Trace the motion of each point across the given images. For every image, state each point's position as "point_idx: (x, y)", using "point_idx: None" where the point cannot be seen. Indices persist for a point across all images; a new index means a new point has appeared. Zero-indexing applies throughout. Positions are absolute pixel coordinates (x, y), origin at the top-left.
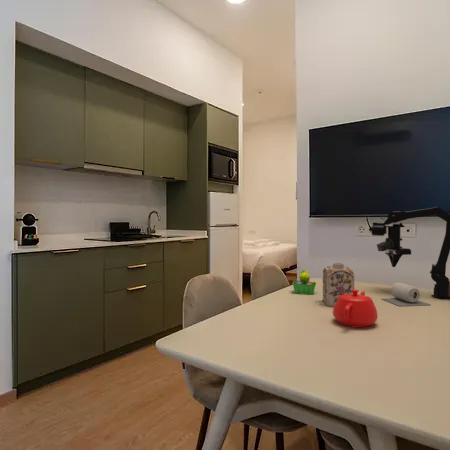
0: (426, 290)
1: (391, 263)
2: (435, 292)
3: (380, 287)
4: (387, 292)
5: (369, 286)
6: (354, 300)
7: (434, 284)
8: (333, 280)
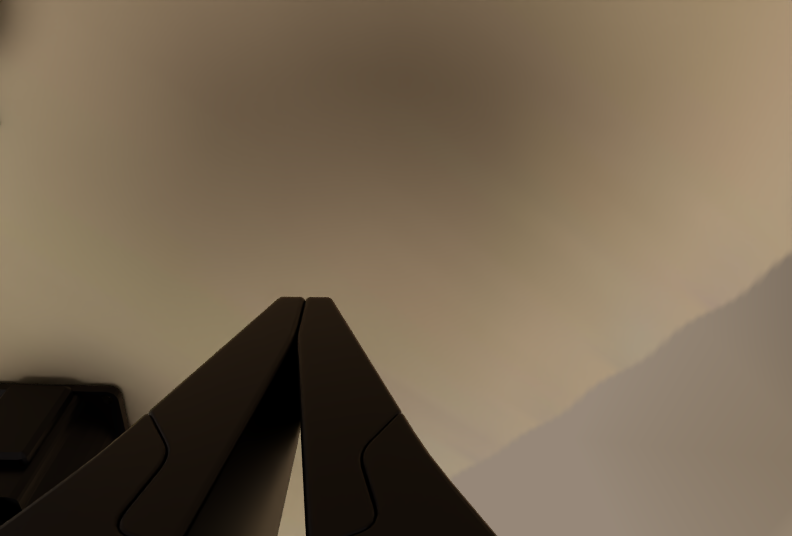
0: None
1: (341, 344)
2: (16, 413)
3: (661, 157)
4: (367, 42)
5: (788, 44)
6: None
7: (13, 493)
8: None
